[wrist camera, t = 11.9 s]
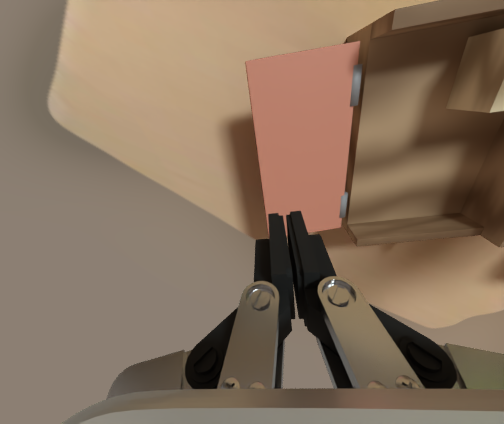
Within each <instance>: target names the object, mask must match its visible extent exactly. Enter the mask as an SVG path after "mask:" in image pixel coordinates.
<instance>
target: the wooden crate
mask: <svg viewBox="0 0 504 424" xmlns="http://www.w3.org/2000/svg"><path fill="white" fill-rule="evenodd" d="M503 28H504V0H439V1H434V2H429V3H424V4H419V5H414V6H409V7H404V8H399V9H395V10H393V11H391V12H390V13H388V14H386V15H385V16H383V17H381V18H380V19H378V20H376V21H375V22H373V23H371V24H369V25H368V26H366V27H364V28H363V29H361V30H359V31H358V32H356V33H354V34H353V35H351V36H349V37H347V43H351V42H357V41H360V48H359V57H358V64H363V66H362V75H361V83H360V92H359V101H358V105H356V106H353V115H352V125H351V135H350V144H349V154H348V164H347V173H346V183H345V192H347V193H348V198H347V207H346V215H345V217H344V218H342V222H341V223H342V224H343V226H344V227H345V229H346V231H347V232H348V234H349V235H350V237H351V239H352V240H353V242H354V243H355V245H356V246H366V245H376V244H387V243H398V242H409V241H420V240H431V239H442V238H453V237H464V236H475V235H481V236H483V237H484V238H486V239H487V240H489V241H490V242H492V243H493V244H495V245H496V246H498V247H504V111H498V112H492V113H486V112H476V111H466V110H455V109H446V106H447V103H448V100H449V97H450V94H451V91H452V87H453V84H454V81H455V78H456V75H457V72H458V69H459V66H460V62H461V59H462V56H463V53H464V50H465V47H466V44H467V40H468V37H472V36H476V35H480V34H484V33H488V32H491V31H495V30H499V29H503Z"/></svg>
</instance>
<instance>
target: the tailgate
mask: <svg viewBox="0 0 504 424" xmlns="http://www.w3.org/2000/svg"><path fill="white" fill-rule="evenodd" d="M359 48H360V41H357V42H351V43H345V44H340V45H334V46H328V47H323V48H317V49H311V50H306V51H300V52H295V53H289V54H283V55H278V56H272V57H266V58H261V59H255V60H249V61H246V62H245V64H246V72H247V79H248V87H249V94H250V102H251V109H252V117H253V124H254V132H255V139H256V146H257V154H258V161H259V169H260V176H261V184H262V191H263V199H264V206H265V214H266V221H267V229H268V235H269V221H268V214H272V213H279V215H283V219H284V225H285V231H286V236H287V222H286V215H289V214H290V212H291V211H301V213H302V216H303V219H304V222H305V225H306V229H307V232H308V233H310V232H316V231H323V230H329V229H335V228H341V222H342V218H344V217H345V215H346V207H347V198H348V193H347V192H345V183H346V173H347V164H348V154H349V144H350V135H351V125H352V115H353V106H356V105H358V101H359V92H360V83H361V75H362V66H363V64H358V57H359Z"/></svg>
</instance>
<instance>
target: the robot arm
mask: <svg viewBox="0 0 504 424" xmlns="http://www.w3.org/2000/svg"><path fill="white" fill-rule="evenodd" d="M268 221H269V239H259V240H256V245H255V269H254V283H251V284H250V285H248V286H247V287H246V288H245V289H244V291H243V293H242V296H241V299H240V303H239V307H238V308H237V309H235V310H234V311H233V312H232V313H231V314H230V315H229V316H228V317H227V318H226V319H224V320H223V321H222V322H221V323H220V324H219V325H218V326H217V327H216V328H215V329H214V330H212V331H211V332H210V333H209V334H208V335H207V336H206V337H205V338H204V339H203V340H201V341H200V342H199V343H198V344H197V345H196V346H195V347H194V349H193V350H191V351H187V352H185V351H184V350H182V351H178V352H175V353H171V354H168V355H165V356H162V357H158V358H155V359H151V360H148V361H144V362H141V363H137V364H134V365H132V366H130V367H128V368H126V369H125V370H124V371H123V372H122V373H120V374H119V375H118V377H117V378H116V380H115V381H114V382H113V384H112V386H111V388H110V390H109V393H108V396H107V399H106V400H103V401H101V402H99V403H96V404H94V405H91V406H89V407H88V408H86V409H84V410H82V411H80V412H78V413H76V414H75V415H73V416H71V417H70V418H68V419H67V420H65V421H64V422H62V423H61V424H504V354H501V353H495V352H490V351H485V350H479V349H474V348H469V347H464V346H458V345H453V344H448V343H446V344H445V346H442V345H437V344H436V343H435V342H433V341H432V340H430V339H429V338H427V337H425V336H424V335H422V334H420V333H418V332H417V331H415V330H413V329H412V328H410V327H408V326H406V325H404V324H403V323H401V322H399V321H398V320H396V319H394V318H392V317H391V316H389V315H387V314H386V313H384V312H382V311H380V310H379V309H377V308H375V307H373V306H372V305H370V304H368V302H367V301H366V299H365V298H364V296H363V295H362V293H361V292H360V290H359V289H358V288H357V287H356V285H355V284H354V283H352V282H351V281H349V280H347V279H345V278H343V277H337V276H336V273H335V271H334V268H333V266H332V263H331V261H330V258H329V256H328V253H327V251H326V248H325V245H324V243H323V240H322V238H321V236H320V234H316V235H308V232H307V229H306V225H305V222H304V219H303V216H302V213H301V211H291V212H290V214H289V215H286V222H287V236H288V243H287V237H286V231H285V225H284V219H283V215H279V213H272V214H268ZM293 285H294V291H295V297H296V303H297V309H298V315H299V319H304V323H305V326H307V329H308V331H309V332H311V333H312V334H313V335H314V336H316V339H317V343H318V346H319V349H320V351H321V354H322V357H323V360H324V363H325V365H326V368H327V371H328V374H329V376H330V379H331V382H332V385H333V387H334V389H282V388H283V368H284V347H285V346H284V345H285V338H286V337H287V336H288V335H289V333H290V332H291V331H292V326H291V319H295V307H294V291H293Z"/></svg>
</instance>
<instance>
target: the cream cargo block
mask: <svg viewBox="0 0 504 424" xmlns="http://www.w3.org/2000/svg"><path fill="white" fill-rule="evenodd" d="M446 109H455V110H466V111H476V112H486V113H492V112H498V111H504V28H503V29H499V30H495V31H491V32H488V33H484V34H480V35H476V36H472V37H468V40H467V44H466V47H465V50H464V53H463V56H462V59H461V62H460V66H459V69H458V72H457V75H456V78H455V81H454V84H453V87H452V91H451V94H450V97H449V100H448V103H447V106H446Z"/></svg>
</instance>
